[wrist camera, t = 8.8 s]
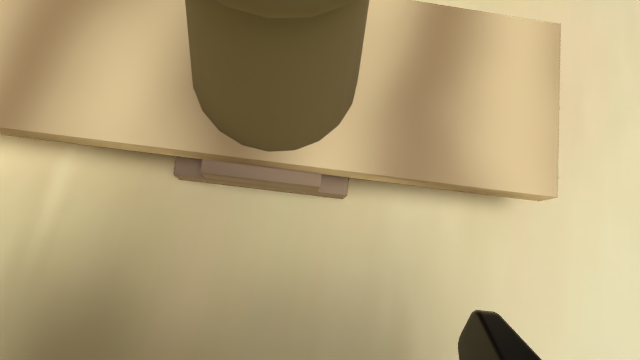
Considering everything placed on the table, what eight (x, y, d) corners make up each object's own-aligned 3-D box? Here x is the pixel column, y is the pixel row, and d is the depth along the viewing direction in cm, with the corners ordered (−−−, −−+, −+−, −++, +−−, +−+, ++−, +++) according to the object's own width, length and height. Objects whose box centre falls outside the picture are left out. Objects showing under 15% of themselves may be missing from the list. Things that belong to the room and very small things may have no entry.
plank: (543, 37, 20) (560, 23, 18) (539, 201, 18) (557, 197, 17) (-1, -47, 18) (-21, -69, 17) (-45, 128, 17) (-69, 118, 15)
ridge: (342, 198, 20) (352, 190, 18) (179, 179, 20) (166, 168, 17) (359, 29, 22) (370, -1, 19) (207, 5, 21) (198, -28, 19)
